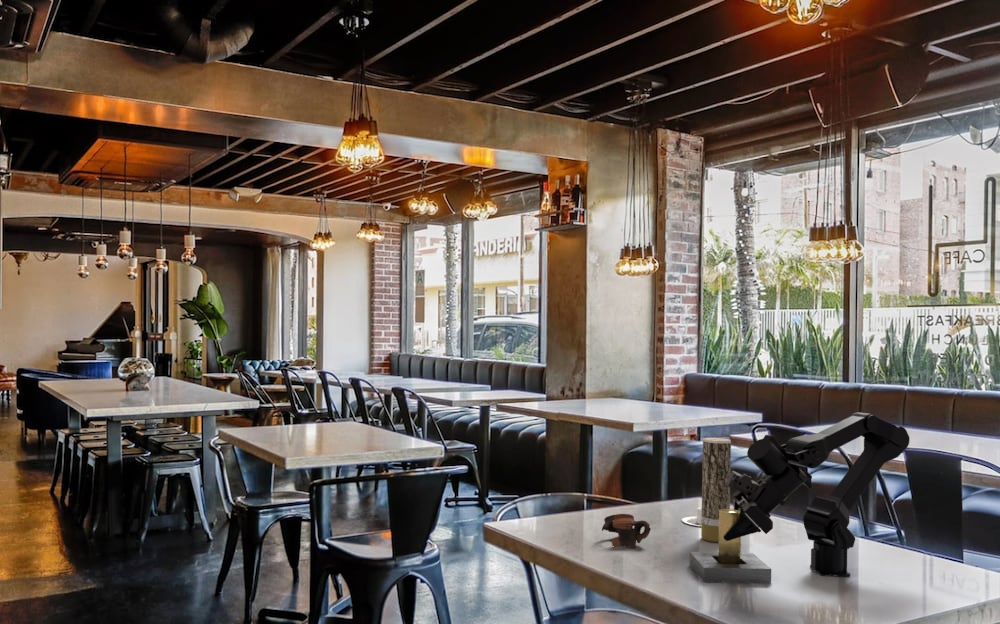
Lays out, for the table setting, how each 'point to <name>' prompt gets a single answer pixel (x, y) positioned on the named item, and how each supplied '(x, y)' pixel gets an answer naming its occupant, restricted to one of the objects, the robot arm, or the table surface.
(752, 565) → the jig plate
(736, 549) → the brass cylinder
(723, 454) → the bark covered log
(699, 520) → the candle holder
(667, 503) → the table surface
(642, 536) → the pottery mug
